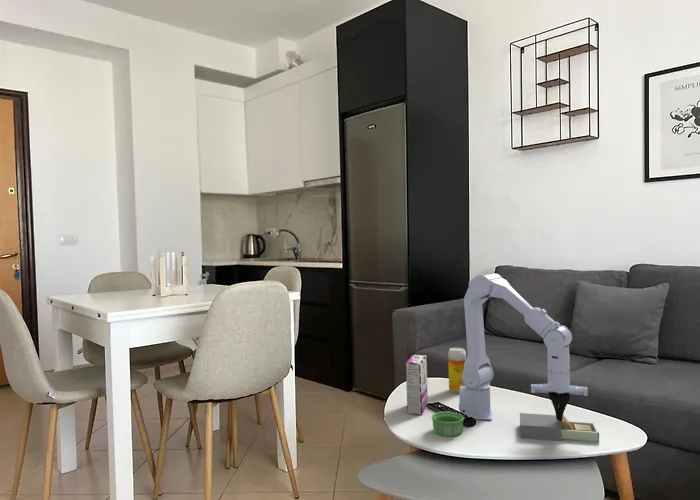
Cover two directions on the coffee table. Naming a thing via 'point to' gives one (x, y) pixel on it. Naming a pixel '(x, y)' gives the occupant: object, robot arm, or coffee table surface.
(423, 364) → the candy bar box
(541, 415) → the grey flat block
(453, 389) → the beer glass
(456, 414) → the ramekin
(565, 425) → the oak tile
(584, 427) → the oak tile
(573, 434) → the tray
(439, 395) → the coffee table surface
